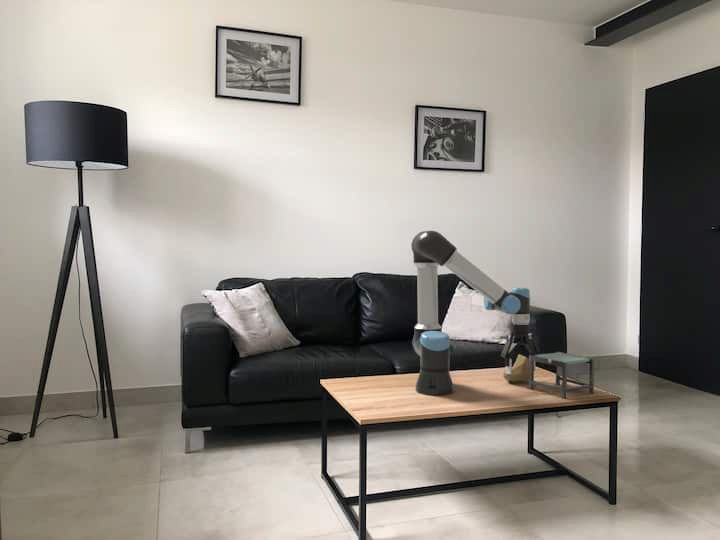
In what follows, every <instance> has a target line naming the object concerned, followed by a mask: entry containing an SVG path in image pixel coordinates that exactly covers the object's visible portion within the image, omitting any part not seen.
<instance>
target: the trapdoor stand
mask: <svg viewBox="0 0 720 540" xmlns="http://www.w3.org/2000/svg"><path fill="white" fill-rule="evenodd" d="M556 353H563V354H568V355H573V356H578V357H583V358H588V359H590V361H588V362H587V364H589V372H588V373H589V377H588V379H589V380H588V382H583V381H580V380H576V379H571V378H568V376H567V362H562V361H558V360H553V359H548V358H544V357H539V356H534V355H531V354H529V356H530V372H529V381H528V382H529V383H528V385H529V386H528V387H529V388H528V389H529V390H534V388H535V387H534V386H539V387H541V388H546V389H549V390H553V391H557V392H561V399H562V400H563V399H564V400H565V399H567V393H571V392H576V391H582V390H588V393H595V392H594V389H595V386H594V385H595V358H591V357H587V356H582V354H580V355H576V354H573V353H572V354H571V353H566V352H561V351H556ZM534 361H536V363H542V364H546V365H550V366H555V367H556V368H555V385H556V386H555V385H551V384H549V383H548V384H547V383H544V382H540V381H536V380H534V379H535V378H534V377H535V371H534ZM557 366H558V367H562V376H559V375H557ZM567 383H570V384H573V385H578V386H571V387H567V386H568V385H567ZM560 385H561V387H559V386H560Z"/></svg>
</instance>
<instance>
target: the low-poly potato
mask: <svg viewBox="0 0 720 540" xmlns="http://www.w3.org/2000/svg"><path fill="white" fill-rule="evenodd" d="M529 372H530V360H529V358H528V357H527V356H525V355H522V354H519V353H518V355H517V357H516V361H515V362H514V363H513V366H512V374H506V369H505V370H504V371H503V374H502V375H503V376H502V377H503V378H504V379H505V380H506V382H507V383H510V384H513V383H526V382H529Z"/></svg>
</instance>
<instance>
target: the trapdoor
mask: <svg viewBox="0 0 720 540" xmlns="http://www.w3.org/2000/svg"><path fill="white" fill-rule="evenodd" d="M563 353H564V352H562V353H557V352H551V353H540V354H538V355H534V356H539V357H544V358H548V359H553V360H558V361H562V362H567V377H572V376H578V375H585V374H588V373H587V371H588V370H587V369H588V363H587V362H588V361H590V359H588V358H589V357H587V358H583V357H584V356H582V357H578V356H579V355H577V356H573V355H574V354H572V355H568V354H569V353H567V354H563ZM557 375H559V376H560V377H562V367H558V366H557Z"/></svg>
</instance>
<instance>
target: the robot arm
mask: <svg viewBox="0 0 720 540" xmlns="http://www.w3.org/2000/svg"><path fill="white" fill-rule="evenodd" d="M410 247H411V250H412V253H413V254H412V255H413V258H412V259H413V264H414V265H415V267H416V269H417V270H416V272H417V274H416V275H417V276H416V277H417V290H416V291H417V293H416V295H417V323H416V324H415V326H414V327H413V328H414V332H413V333H414V335H413V338H412V347H413V351H414V353H416V354H417V355H418V356H419V357H420V365H419V367H420V368H419V369H420V370H419V374H418V377H417V380H416V383H415V391H416V392H418V393H420V394H423V395H431V396H445V395H450V394H453V393H454V384H453V381H452V376H451V374H450V358H451V357H450V353H451V352H450V350H451V349H450V348H451V347H450V345H451V341H450V336H449V334H448V333H446V332H443V331H442V329H443V327H442V326H441V325H440V324H439V297H438V295H439V292H438V291H439V289H438V287H439V285H438V279H439V277H438V267H439V266H440V267H445V268H446V269H448V270H449V271H451V272H452V273H453V274H454V275H456V276H457V277H458V278H459V279H461V280H463V281H464V282H465V283H466V284H467V285H468V286H469V287H471V288H472V289H474V290H475V291H476V292H478V293H479V294H480V295H481V296H482V297H483V306H484V308H485V310H486V311H498V312H501V313H505V314H506V315H511V323H512V324H511V333H512V335H510V334H508V335H507V336H506V342H505V343H504V346H503V349H502V351H501V354H500V357H501V358H503V359H504V366H505V370H506V374H512V367H513V366H512V362H513V361H512V358H511V357H512V355H513V354H514V353H515V351H516V349H517V348H518V347H520V346H524V347H525V349H526V350H527V351H528V353H529V356H528V357H529V358H528V359H529V360H530V355H541V352H540V349H539V347H538V344H537V342H536V340H535V334H534V333H530V331H531V326H530V325H531V324H530V322H531V321H530V320H531V319H530V315H531V314H530V313H531V312H530V309H531V308H530V307H531V306H530V305H531V292H530V289H529V288H527V287H512V288H511V292H508V291H507V290H506V289H505V288H503V287H502V286H501V285H500V284H498V283H497V281H495V280H494V279H492V278H491V277H490V276H488V275H487V273H484V271H482V270H481V269H480V268H478V267H477V266H476V265H475V264H473V262H471V261H469V259H467V258H466V257H464V256H463V255H462V254H461V253H460V252H459V251H458V248H457V247H456V246H455V245H454V244H452V243H451V242H450V241H449V240H448V239H447V238H446V237H445V236H444V235H443V234H441V233H440V232H438V231H436V230H425V231H420V232H419V233H417V234H416V235H414V237H413V239H412V241H411V246H410ZM536 363H537V362H536V361H534V372H536Z"/></svg>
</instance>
